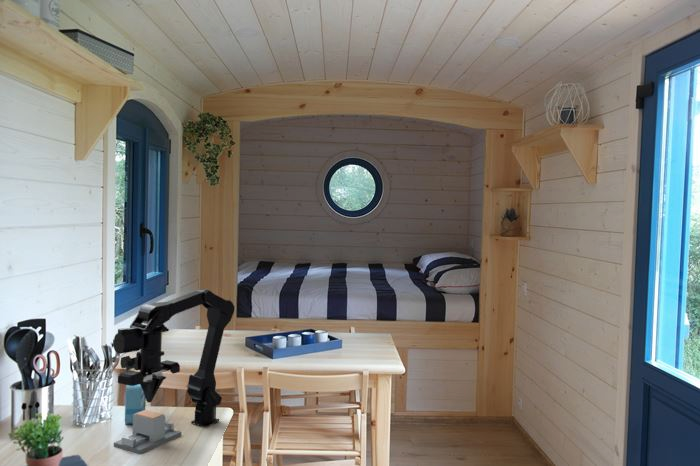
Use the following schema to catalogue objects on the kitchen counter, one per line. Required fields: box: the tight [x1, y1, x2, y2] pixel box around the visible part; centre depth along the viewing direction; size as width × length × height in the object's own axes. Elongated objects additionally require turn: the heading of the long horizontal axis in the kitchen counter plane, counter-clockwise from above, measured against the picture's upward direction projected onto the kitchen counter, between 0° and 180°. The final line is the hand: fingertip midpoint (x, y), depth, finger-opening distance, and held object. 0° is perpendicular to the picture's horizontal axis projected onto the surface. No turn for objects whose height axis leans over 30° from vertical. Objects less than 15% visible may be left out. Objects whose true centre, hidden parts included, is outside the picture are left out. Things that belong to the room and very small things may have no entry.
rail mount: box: [113, 420, 182, 455], centre depth 168 cm, size 16×10×3 cm, turn 153°
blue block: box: [124, 384, 147, 425], centre depth 185 cm, size 12×4×12 cm, turn 12°
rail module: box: [132, 409, 166, 442], centre depth 168 cm, size 4×8×7 cm, turn 63°
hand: (149, 401), depth 168 cm, fingers closed
